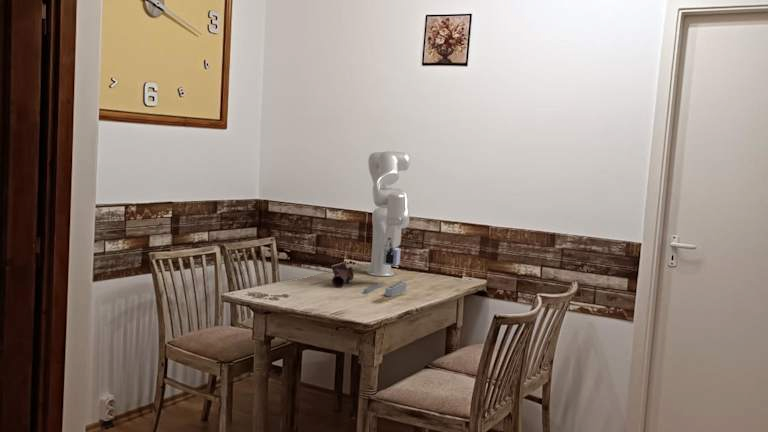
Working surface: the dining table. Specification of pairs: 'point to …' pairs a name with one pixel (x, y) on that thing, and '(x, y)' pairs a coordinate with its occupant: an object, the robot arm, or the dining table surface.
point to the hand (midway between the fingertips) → (391, 261)
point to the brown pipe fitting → (341, 274)
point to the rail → (390, 290)
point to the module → (395, 259)
